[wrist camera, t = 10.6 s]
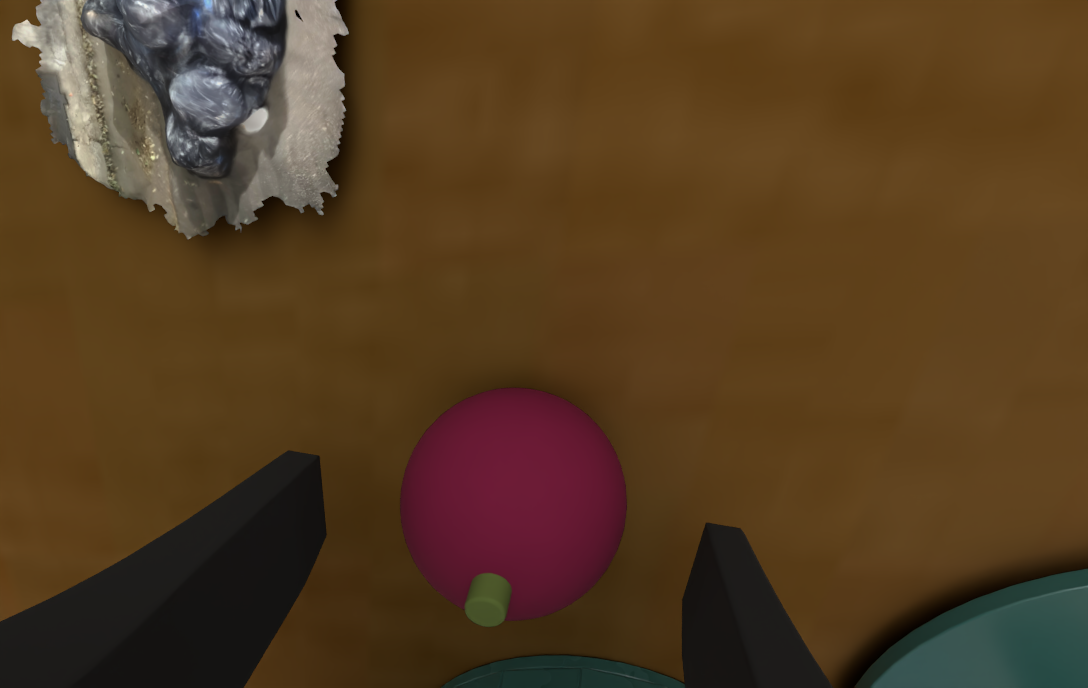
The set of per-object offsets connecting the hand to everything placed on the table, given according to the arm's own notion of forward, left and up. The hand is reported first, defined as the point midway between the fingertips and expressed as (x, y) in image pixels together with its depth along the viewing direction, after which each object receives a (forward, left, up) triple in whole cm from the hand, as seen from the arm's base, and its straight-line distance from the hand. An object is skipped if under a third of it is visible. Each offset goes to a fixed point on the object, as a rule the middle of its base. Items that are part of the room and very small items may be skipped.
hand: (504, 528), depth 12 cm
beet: (0, 0, -1) cm, 1 cm away
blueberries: (+7, -8, -3) cm, 11 cm away
